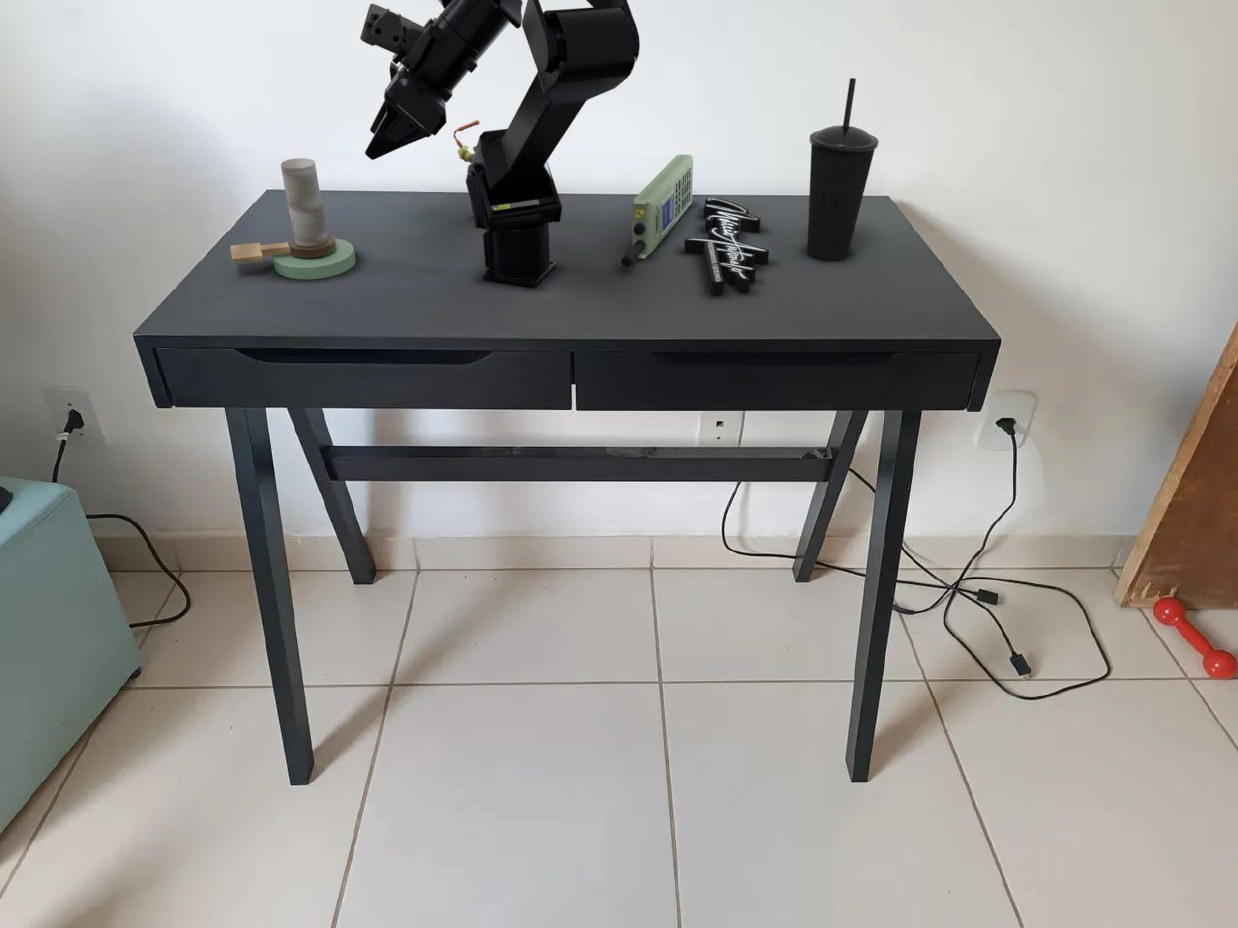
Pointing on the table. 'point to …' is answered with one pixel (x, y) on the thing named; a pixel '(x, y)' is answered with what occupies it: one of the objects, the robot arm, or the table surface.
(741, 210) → the nameplate
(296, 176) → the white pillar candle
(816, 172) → the drinking cup
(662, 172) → the handheld radio
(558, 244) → the table surface
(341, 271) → the stand
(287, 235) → the table surface
